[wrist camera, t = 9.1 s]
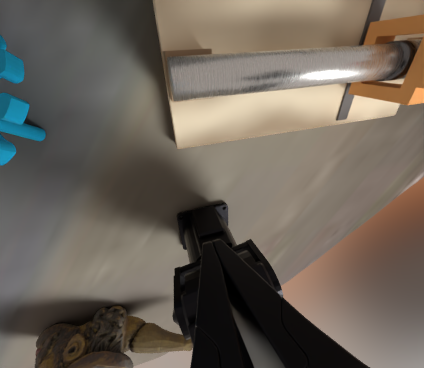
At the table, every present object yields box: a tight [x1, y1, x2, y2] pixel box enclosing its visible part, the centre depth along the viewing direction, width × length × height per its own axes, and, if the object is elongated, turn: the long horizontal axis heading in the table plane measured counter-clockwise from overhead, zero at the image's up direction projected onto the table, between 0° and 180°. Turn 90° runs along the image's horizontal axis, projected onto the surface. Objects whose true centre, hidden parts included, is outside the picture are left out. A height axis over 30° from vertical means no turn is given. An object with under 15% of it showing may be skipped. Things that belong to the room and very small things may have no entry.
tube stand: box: [153, 0, 424, 149], centre depth 16 cm, size 12×26×6 cm, turn 93°
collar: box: [348, 15, 424, 105], centre depth 15 cm, size 5×2×7 cm, turn 2°
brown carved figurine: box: [35, 306, 193, 368], centre depth 28 cm, size 9×22×10 cm, turn 90°
